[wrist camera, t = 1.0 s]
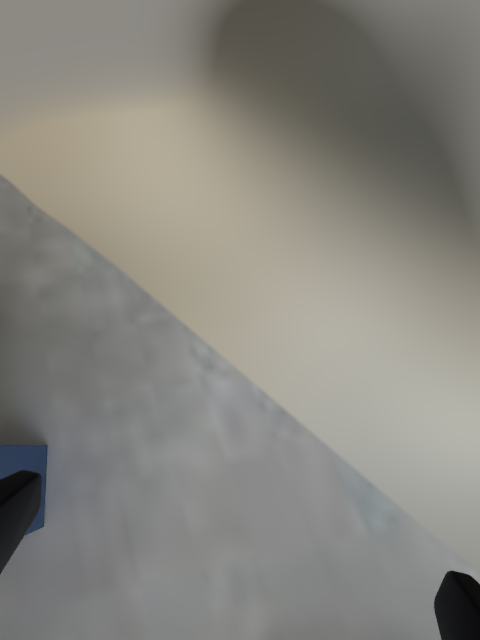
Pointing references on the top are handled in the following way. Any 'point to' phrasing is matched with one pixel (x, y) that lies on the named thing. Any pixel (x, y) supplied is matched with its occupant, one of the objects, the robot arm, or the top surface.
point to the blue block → (26, 457)
